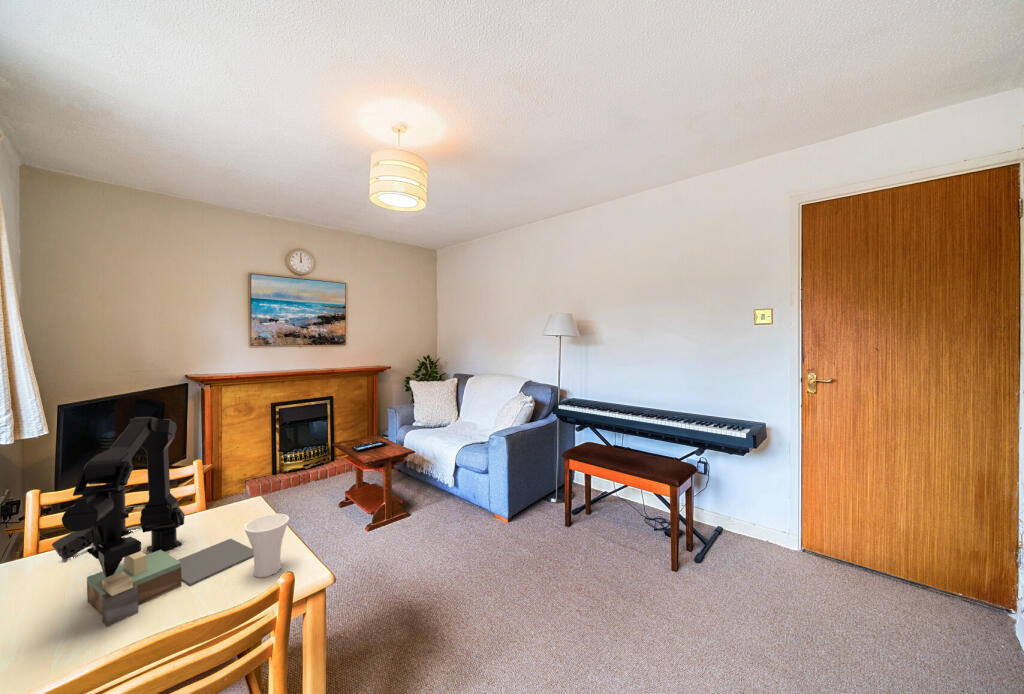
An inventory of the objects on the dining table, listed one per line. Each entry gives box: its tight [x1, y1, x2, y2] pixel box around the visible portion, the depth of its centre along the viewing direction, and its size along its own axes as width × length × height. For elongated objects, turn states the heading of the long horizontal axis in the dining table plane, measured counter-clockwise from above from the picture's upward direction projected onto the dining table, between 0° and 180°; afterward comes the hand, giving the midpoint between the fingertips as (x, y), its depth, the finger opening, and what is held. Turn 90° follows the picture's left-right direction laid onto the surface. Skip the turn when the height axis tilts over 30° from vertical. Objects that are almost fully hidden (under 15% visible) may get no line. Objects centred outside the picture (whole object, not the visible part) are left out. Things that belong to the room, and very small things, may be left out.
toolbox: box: [86, 567, 183, 627], centre depth 96 cm, size 15×15×6 cm
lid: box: [86, 550, 181, 595], centre depth 97 cm, size 12×14×5 cm
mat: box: [177, 538, 254, 587], centre depth 112 cm, size 16×17×1 cm
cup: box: [243, 513, 290, 578], centre depth 107 cm, size 10×10×14 cm
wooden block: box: [102, 571, 133, 596], centre depth 90 cm, size 6×4×2 cm, turn 61°
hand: (109, 576), depth 92 cm, fingers closed
